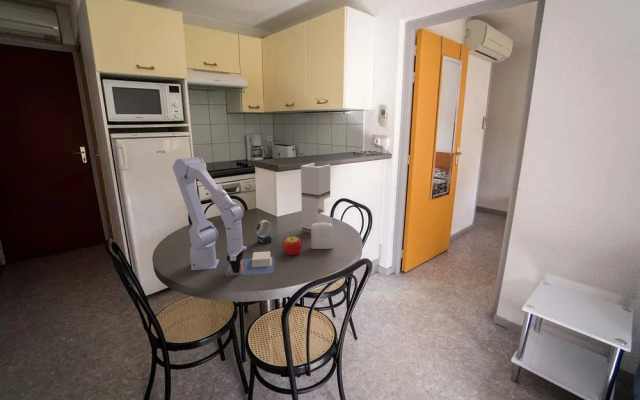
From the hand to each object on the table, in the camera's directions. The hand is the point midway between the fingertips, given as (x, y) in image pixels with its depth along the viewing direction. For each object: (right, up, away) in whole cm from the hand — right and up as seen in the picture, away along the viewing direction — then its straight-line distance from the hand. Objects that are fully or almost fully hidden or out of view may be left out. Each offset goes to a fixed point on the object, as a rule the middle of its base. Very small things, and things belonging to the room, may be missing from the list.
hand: (237, 269), depth 117 cm
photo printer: (+33, +5, +23) cm, 41 cm away
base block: (+8, +1, +8) cm, 11 cm away
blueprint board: (+4, 0, +5) cm, 7 cm away
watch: (+5, +6, +29) cm, 30 cm away
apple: (+20, +3, +17) cm, 26 cm away
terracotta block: (0, -1, 0) cm, 1 cm away
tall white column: (+30, +11, +46) cm, 56 cm away
